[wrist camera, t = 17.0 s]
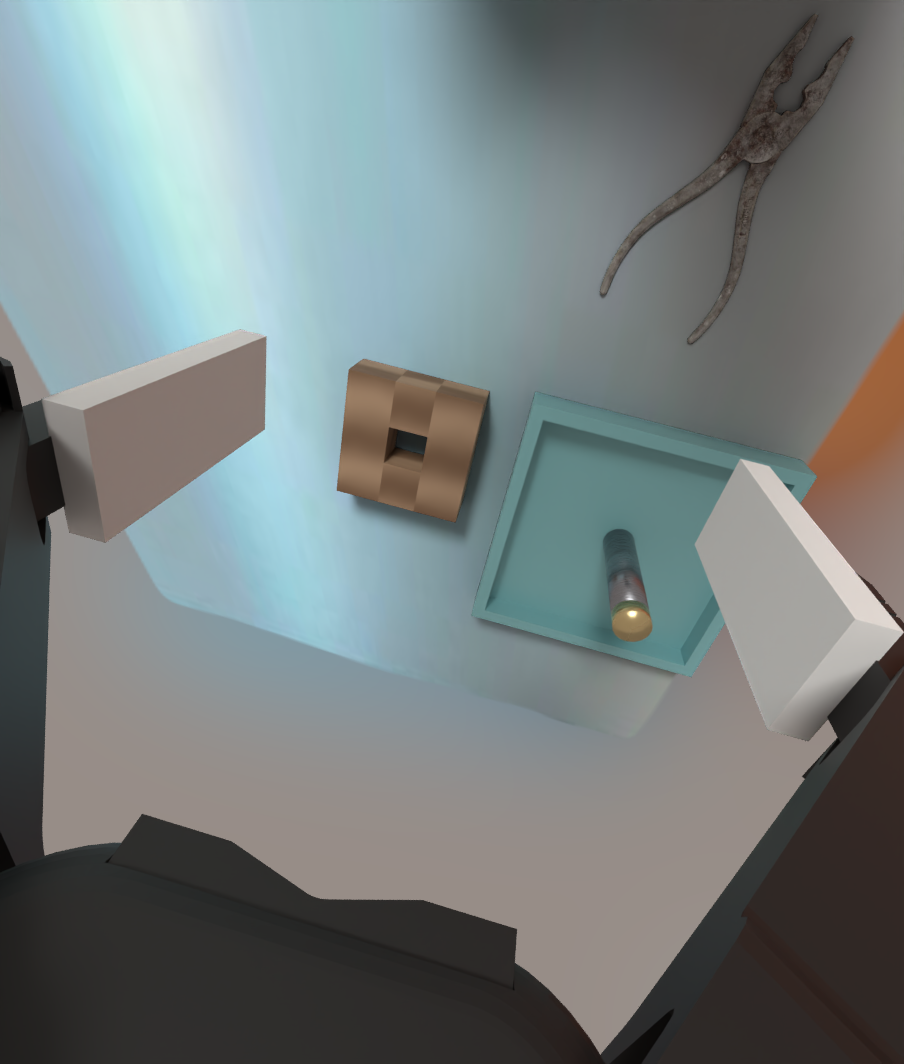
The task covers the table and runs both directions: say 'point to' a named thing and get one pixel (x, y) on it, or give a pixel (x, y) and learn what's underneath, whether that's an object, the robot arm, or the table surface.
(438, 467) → the pin block
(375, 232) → the table surface
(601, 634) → the tray
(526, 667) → the table surface
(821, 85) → the pliers
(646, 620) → the pin
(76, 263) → the table surface
